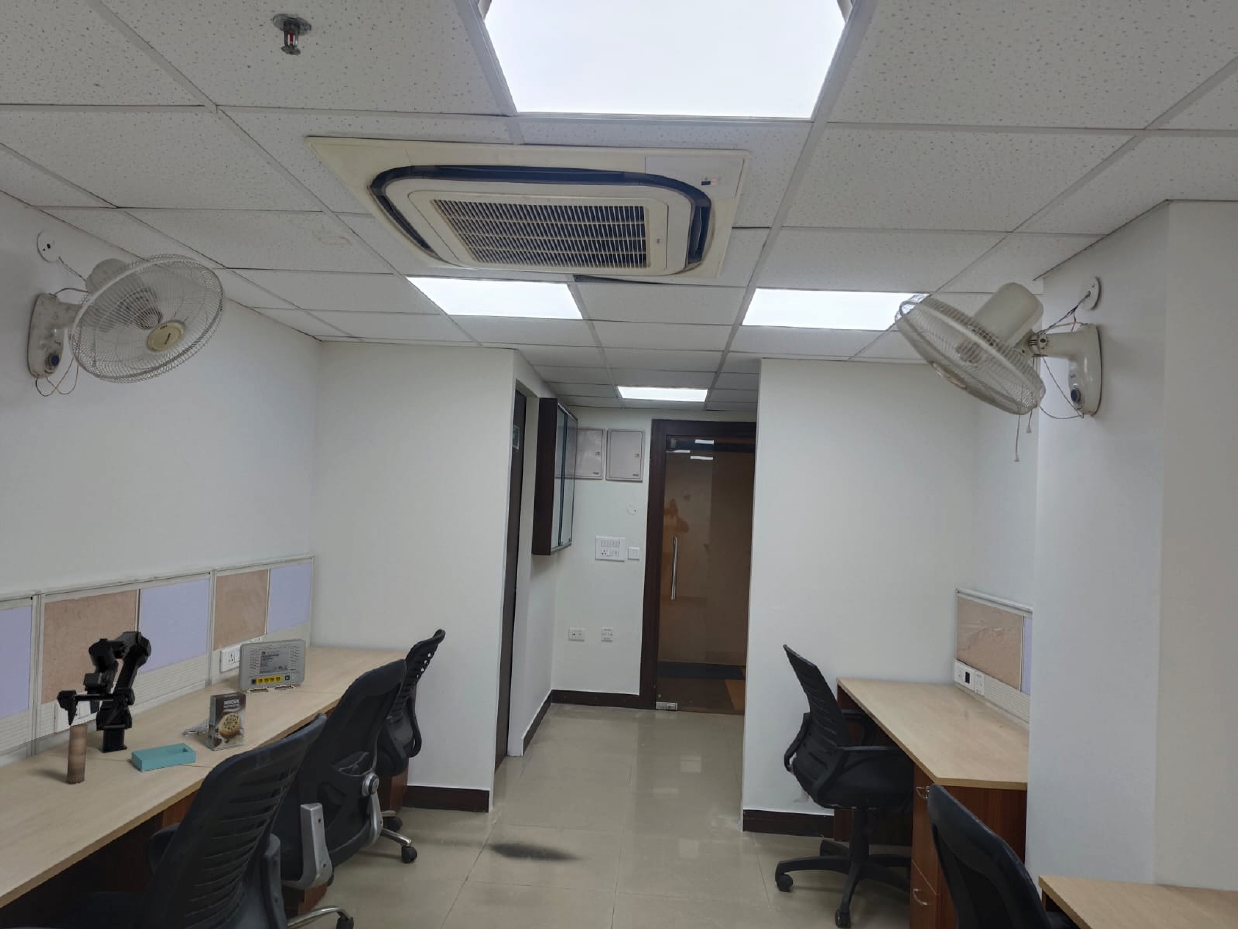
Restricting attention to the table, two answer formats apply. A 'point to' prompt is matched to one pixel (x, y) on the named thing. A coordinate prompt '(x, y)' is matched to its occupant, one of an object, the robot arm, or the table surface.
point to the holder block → (163, 756)
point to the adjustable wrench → (198, 728)
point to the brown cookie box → (226, 721)
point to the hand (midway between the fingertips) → (88, 724)
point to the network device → (271, 663)
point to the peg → (77, 753)
